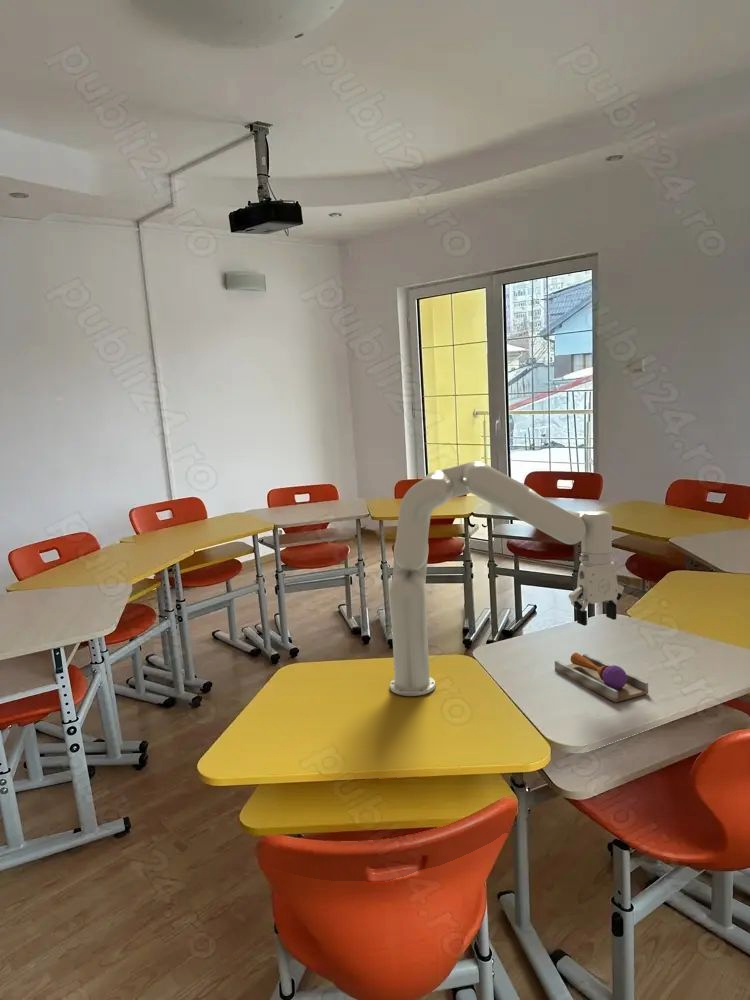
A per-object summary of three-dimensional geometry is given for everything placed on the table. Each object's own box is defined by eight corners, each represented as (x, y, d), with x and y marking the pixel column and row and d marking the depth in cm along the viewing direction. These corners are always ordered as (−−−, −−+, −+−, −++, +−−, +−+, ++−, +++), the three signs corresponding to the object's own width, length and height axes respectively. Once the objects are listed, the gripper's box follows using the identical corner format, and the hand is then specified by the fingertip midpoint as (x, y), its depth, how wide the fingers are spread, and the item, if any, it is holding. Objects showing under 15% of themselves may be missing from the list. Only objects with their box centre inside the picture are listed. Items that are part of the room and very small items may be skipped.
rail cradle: (554, 670, 188) (554, 661, 188) (585, 663, 192) (584, 654, 192) (615, 702, 166) (615, 691, 166) (648, 693, 170) (648, 682, 170)
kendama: (585, 648, 189) (633, 669, 170) (583, 668, 189) (630, 692, 170) (567, 648, 187) (613, 669, 168) (565, 669, 187) (611, 692, 168)
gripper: (579, 565, 168) (579, 630, 170) (632, 556, 175) (632, 619, 177) (560, 559, 175) (561, 622, 177) (612, 551, 182) (612, 612, 184)
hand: (596, 621), depth 177 cm, fingers open, 9 cm apart
